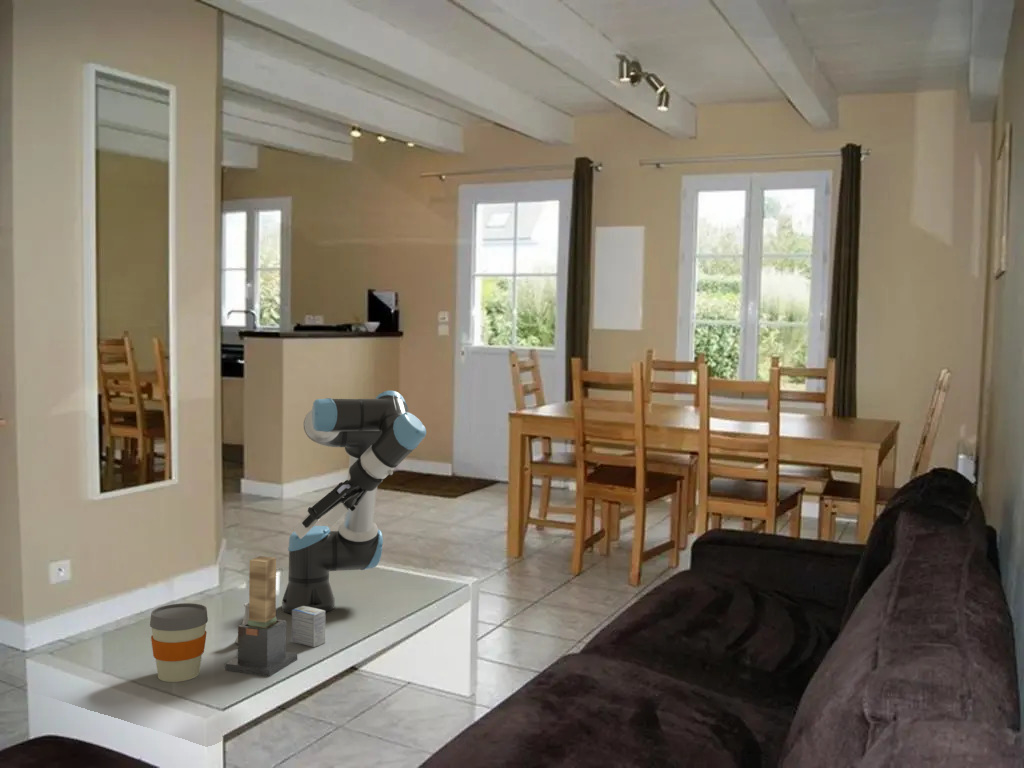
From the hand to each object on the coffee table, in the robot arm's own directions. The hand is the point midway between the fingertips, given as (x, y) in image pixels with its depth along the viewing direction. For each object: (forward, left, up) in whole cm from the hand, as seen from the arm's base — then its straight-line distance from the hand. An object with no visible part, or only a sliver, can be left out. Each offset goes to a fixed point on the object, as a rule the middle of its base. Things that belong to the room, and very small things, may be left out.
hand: (312, 528), depth 207 cm
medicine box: (-18, -11, -34) cm, 40 cm away
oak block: (0, -13, -26) cm, 30 cm away
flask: (-13, -25, -34) cm, 44 cm away
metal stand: (0, -13, -34) cm, 36 cm away
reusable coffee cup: (+12, -27, -34) cm, 46 cm away
